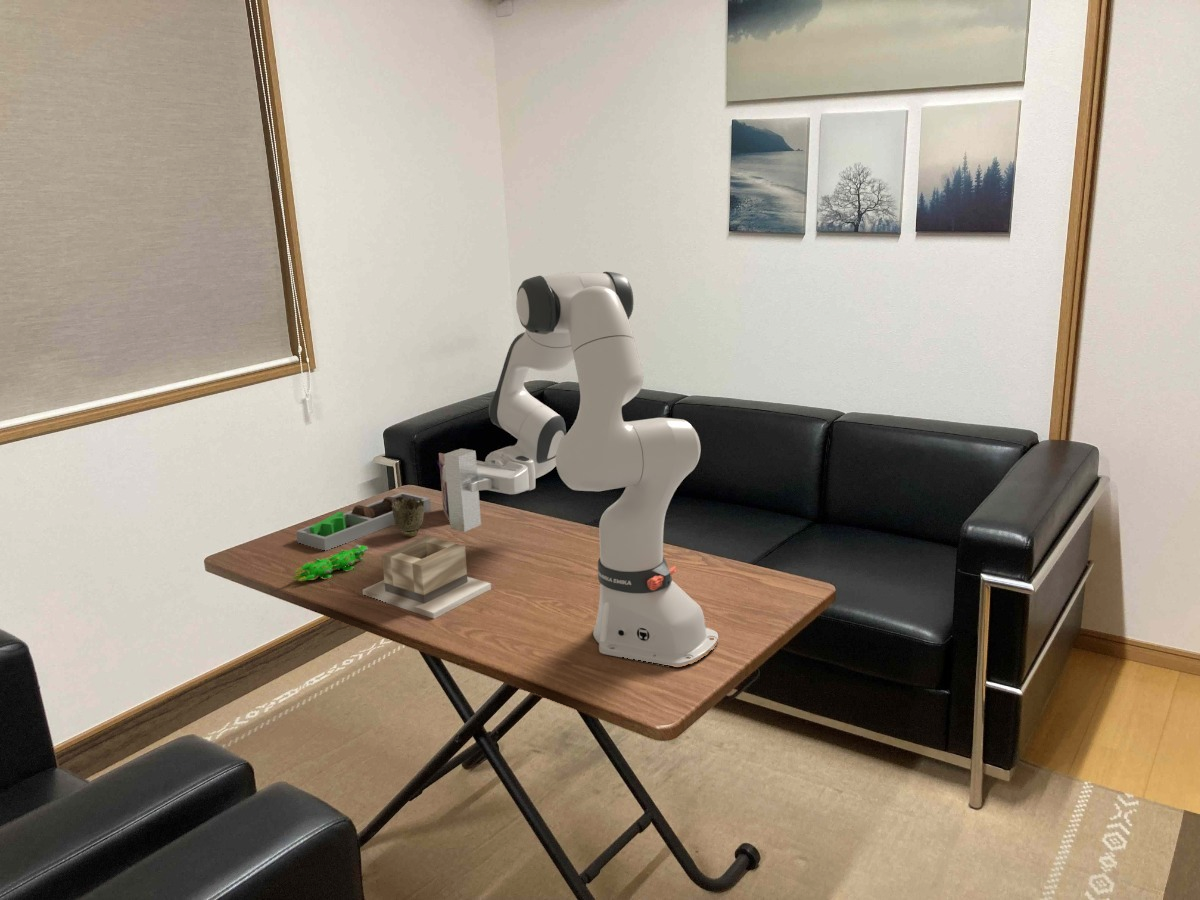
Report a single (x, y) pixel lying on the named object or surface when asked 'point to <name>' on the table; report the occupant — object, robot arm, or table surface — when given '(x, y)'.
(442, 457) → the greeting card
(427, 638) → the table surface
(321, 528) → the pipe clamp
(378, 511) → the bolt
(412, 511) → the cup
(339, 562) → the crocodile figurine
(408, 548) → the square socket base
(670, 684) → the table surface
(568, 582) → the table surface
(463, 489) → the grey rectangular bar
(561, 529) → the table surface
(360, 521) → the parts tray
